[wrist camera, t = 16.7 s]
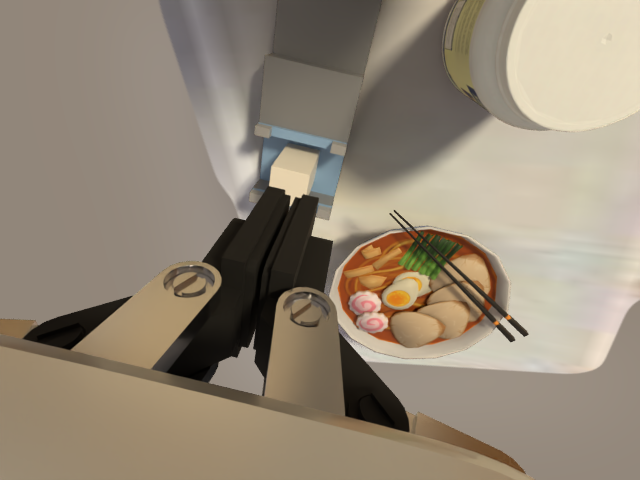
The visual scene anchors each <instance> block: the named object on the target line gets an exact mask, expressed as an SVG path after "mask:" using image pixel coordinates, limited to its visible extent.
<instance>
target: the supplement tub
mask: <svg viewBox="0 0 640 480" xmlns="http://www.w3.org/2000/svg"><path fill="white" fill-rule="evenodd" d="M442 56H443V63H444V67H445V70H446V72H447V75H448V77H449V79H450V80H451V82H452V83H453V85H454V86H455V87H456V88H457V89H458V90H459V91H460V92H461V93H463V94H464V95H466V96H467V97H469V98H470V99H472V100H473V101H475V102H476V103H477V104H479V105H480V106H482V107H483V108H484V109H486V110H487V111H489V112H490V113H491V114H492V115H493V116H495V117H496V118H497V119H499V120H501V121H502V122H504V123H506V124H509V125H511V126H515V127H518V128H522V129H528V130H538V131H545V130H556V131H563V132H578V131H587V130H593V129H597V128H601V127H604V126H607V125H610V124H613V123H615V122H618V121H620V120H622V119H625V118H627V117H629V116H630V115H632V114H634V113H636V112H638V111H639V110H640V0H456V1H455V3H454V5H453V7H452V9H451V11H450V13H449V16H448V18H447V21H446V24H445V28H444V33H443V39H442Z"/></svg>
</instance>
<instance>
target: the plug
mask: <svg viewBox="0 0 640 480" xmlns="http://www.w3.org/2000/svg"><path fill="white" fill-rule="evenodd" d="M319 154H320V150H317V149H312V148H308V147H304V146H300V145H296V144H291V143H288V144H287V145H286V147H285V148H284V149H283V151H282V152H281V153H280V155H279V156H278V158H277V159H276V160H275V162H274V163H273V165H272V166H271V174H270V183H269V186H271V187H275V188H280V189H284V190H285V194H286V195H290V196H291V199H290V206H291V205H292V203H293V201H294V199H295V197H299V198H301V197H302V195H303V194H305V195H309V193H310V191H311V188H312V185H313V183H314V179H315V174H316V169H317V164H318V159H319Z"/></svg>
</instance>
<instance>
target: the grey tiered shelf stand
mask: <svg viewBox="0 0 640 480" xmlns="http://www.w3.org/2000/svg"><path fill="white" fill-rule="evenodd" d="M381 2H382V0H278V3H277V13H276V23H275V34H274V44H273V53H271V54H267V55H265V61H264V72H263V83H262V95H261V106H260V118H259V123H258V124H256V125H255V133H254V135H257V136H261V137H264V141H263V152H262V162H261V172H260V179H259V181H258V182H257V183H256V185H255V186H254V188H253V189H252V190H251V192H250V195H249V202H253V203H257V202H258V201H259V199H260V198H261V196H262V195H263V193H264V192H265V190H266V188H267V187H268V186H269V183H270V174H271V166H272V165H273V163H274V162H275V160H276V159H277V158H278V156H279V155H280V153H281V152H282V151H283V149H284V148H285V147H286V145H287V144H288V143H291V144H296V145H300V146H304V147H308V148H312V149H317V150H320V154H319V159H318V164H317V169H316V174H315V179H314V183H313V185H312V188H311V191H310V193H309V196H313V197H318V198H319V202H318V207H317V211H316V213H317V216H316V217H317V218H321V219H325V220H329V218H330V214H331V210H332V205H333V201H334V196H335V192H336V188H337V184H338V180H339V175H340V171H341V167H342V163H343V159H344V156H345V152H346V148H347V144H348V139H349V135H350V131H351V127H352V123H353V119H354V115H355V111H356V107H357V102H358V98H359V94H360V90H361V86H362V82H363V78H364V72H365V68H366V64H367V60H368V56H369V52H370V48H371V44H372V39H373V35H374V31H375V27H376V23H377V19H378V15H379V11H380V6H381ZM289 207H291V206H289Z"/></svg>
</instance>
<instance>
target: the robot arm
mask: <svg viewBox="0 0 640 480" xmlns="http://www.w3.org/2000/svg"><path fill="white" fill-rule="evenodd" d="M290 199H291V196H290V195H286V194H285V190H284V189H280V188H275V187H271V186H268V187H267V188H266V190H265V192H264V193H263V195H262V196H261V198H260V199H259V201H258V202H257V204H256V205H255V207H254V208H253V210H252V211H251V213H250V215H249V216H248V218H247V219H246V220H242V219H238V218H234V219H233V220H232V221H231V222H230V224H229V225H228V227H227V228H226V229H225V230H224V232H223V233H222V235H221V236H220V237H219V239H218V240H217V241H216V243H215V244H214V246H213V247H212V248H211V250H210V251H209V253H208V254H207V255H206V257H205V258H204V259H203V261H202V262H199V261H186V262H180V263H176V264H174V265H171V266H169V267H168V268H166V269H164V270H163V271H162V272H161V273H159V274H158V275H157V276H156V277H155V278H154V279H152V280H151V281H150V282H149V283H148V284H147V285H146V286H144V287H143V288H142V289H141V290H140V291H139V292H137V293H136V294H135V295H134V296H130V297H127V298H123V299H120V300H116V301H113V302H109V303H106V304H102V305H99V306H96V307H92V308H88V309H84V310H81V311H78V312H74V313H71V314H67V315H63V316H60V317H57V318H54V319H51V320H49V321H46V322H44V323H42V324H41V325H38V324H37V322H36V320H20V319H19V320H18V319H0V480H535V479H534V478H532V477H530V476H528V475H526V473H525V471H524V470H523V469H522V468H521V467H520V465H518V463H517V462H516V461H515V460H514V459H513V458H511V457H510V456H508V455H507V454H505V453H503V452H502V451H501V450H498V449H496V448H494V447H492V446H490V445H488V444H486V443H484V442H481V441H479V440H477V439H475V438H473V437H471V436H469V435H467V434H464V433H463V432H460V431H458V430H456V429H454V428H452V427H450V426H448V425H446V424H444V423H441V422H439V421H437V420H435V419H433V418H431V417H429V416H426V415H424V414H422V413H420V412H418V413H417V414H416V415H413V414H411V413H409V412H407V411H405V408H404V407H403V405H402V404H401V402H400V401H399V399H398V398H397V397H396V396H395V395H394V394H393V392H392V391H391V390H390V389H389V388H388V387H387V386H386V385H385V383H384V382H383V381H382V380H381V379H380V378H379V377H378V376H377V375H376V373H375V372H374V371H373V370H372V369H371V368H370V367H369V365H368V364H367V363H366V362H365V361H364V360H363V359H362V358H361V356H360V355H359V354H358V353H357V352H356V351H355V350H354V348H353V347H352V346H351V345H350V344H349V343H348V342H347V341H346V339H345V338H344V337H343V336H342V335H341V334H340V333H339V329H338V317H337V310H336V306H335V304H334V303H333V301H332V300H331V298H329V297H328V296H327V295H326V294H324V289H325V283H326V278H327V272H328V266H329V261H330V255H331V250H332V244H333V241H330V240H326V239H322V238H318V237H313V236H311V235H312V230H313V225H314V221H315V216H316V211H317V207H318V202H319V198H318V197H313V196H309V195H305V194H303V195H302V197H301V198H299V197H295V199H294V201H293V203H292V205H291V208H290V210H289V206H290ZM255 329H256V331H255ZM254 332H255V339H254V347H253V349H255V350H256V355H255V364H256V365H257V367H258V368H259V370H260V372H261V373H262V375H263V376H264V384H263V391H262V396H259V395H255V394H252V393H247V392H243V391H239V390H235V389H231V388H227V387H222V386H218V385H214V384H210V383H209V382H210V380H211V378H212V377H213V375H214V374H215V372H216V370H217V368H218V364H219V362H220V361H222V360H224V359H226V358H228V357H231V356H232V357H236V358H237V357H238V354H239V352H240V350H241V347H246V348H248V347H249V345H250V342H251V340H252V337H253V334H254Z"/></svg>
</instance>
